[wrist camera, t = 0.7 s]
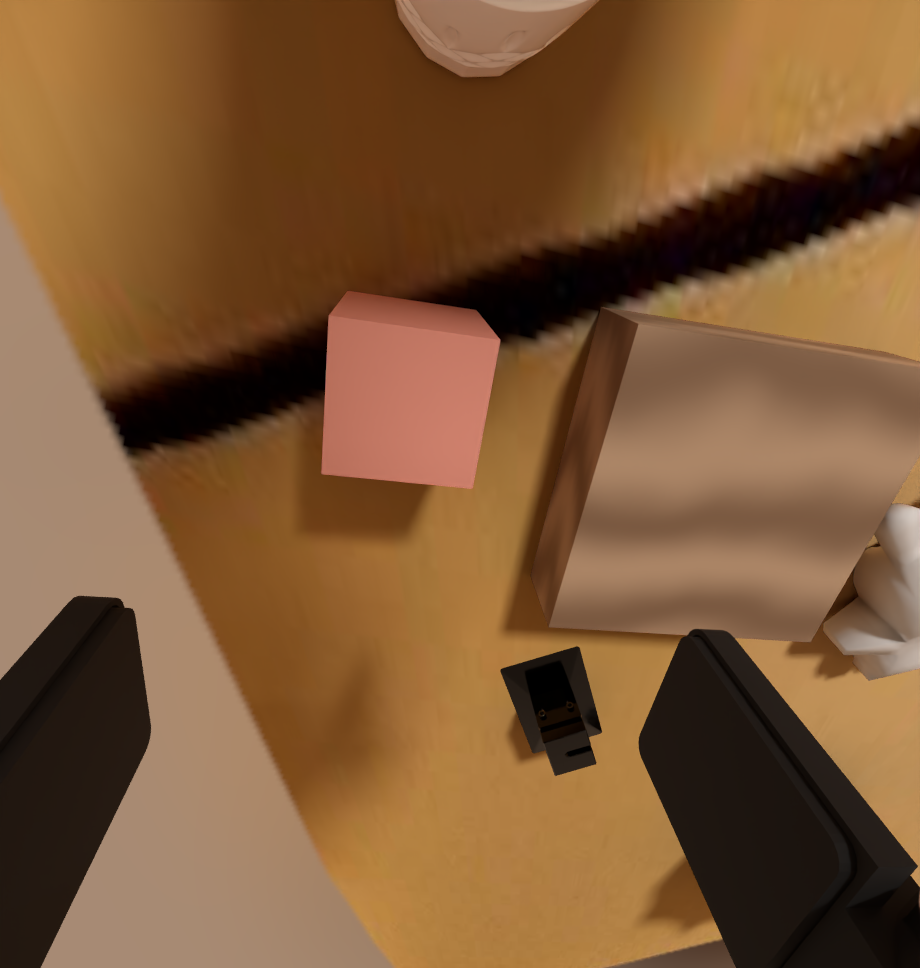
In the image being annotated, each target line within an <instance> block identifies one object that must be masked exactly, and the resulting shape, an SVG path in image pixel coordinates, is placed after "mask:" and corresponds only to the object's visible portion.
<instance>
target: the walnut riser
mask: <svg viewBox="0 0 920 968" xmlns="http://www.w3.org/2000/svg"><path fill="white" fill-rule="evenodd" d="M919 456H920V362H919V361H915V360H912V359H908V358H905V357H901V356H897V355H894V354H890V353H887V352H882V351H876V350H869V349H863V348H857V347H850V346H844V345H838V344H831V343H825V342H819V341H813V340H806V339H800V338H794V337H787V336H781V335H775V334H768V333H762V332H756V331H749V330H743V329H737V328H731V327H724V326H718V325H712V324H705V323H699V322H693V321H686V320H680V319H674V318H667V317H661V316H655V315H649V314H642V313H636V312H630V311H623V310H617V309H611V308H604V307H601V309H600V313H599V317H598V321H597V325H596V328H595V332H594V336H593V340H592V344H591V347H590V351H589V355H588V359H587V363H586V366H585V370H584V374H583V378H582V382H581V385H580V389H579V393H578V397H577V401H576V404H575V408H574V412H573V416H572V420H571V423H570V427H569V431H568V435H567V439H566V443H565V446H564V450H563V454H562V458H561V462H560V465H559V469H558V473H557V477H556V481H555V484H554V488H553V492H552V496H551V500H550V503H549V507H548V511H547V515H546V519H545V522H544V526H543V530H542V534H541V538H540V541H539V545H538V549H537V553H536V557H535V560H534V564H533V568H532V572H531V579H532V582H533V584H534V587H535V590H536V593H537V596H538V599H539V601H540V604H541V607H542V610H543V613H544V616H545V618H546V621H547V624H548V627H554V628H571V629H589V630H606V631H623V632H640V633H658V634H675V635H688V634H689V632H690V631H692V630H693V629H711V630H724V631H727V632H729V633H730V634H731V635H732V636H733V637H734V638H744V639H762V640H779V641H796V642H811V640H812V639H813V637H814V635H815V634H816V632H817V630H818V628H819V627H820V625H821V623H822V622H823V620H824V618H825V617H826V615H827V613H828V611H829V610H830V608H831V606H832V605H833V603H834V601H835V599H836V598H837V596H838V594H839V593H840V591H841V589H842V588H843V586H844V584H845V582H846V581H847V579H848V577H849V576H850V574H851V572H852V570H853V569H854V567H855V565H856V564H857V562H858V560H859V559H860V557H861V555H862V553H863V552H864V550H865V548H866V547H867V545H868V543H869V541H870V540H871V538H872V536H873V535H874V533H875V531H876V530H877V528H878V526H879V524H880V523H881V521H882V519H883V518H884V516H885V514H886V512H887V511H888V509H889V507H890V506H891V504H892V502H893V501H894V499H895V497H896V495H897V494H898V492H899V490H900V489H901V487H902V485H903V483H904V482H905V480H906V478H907V477H908V475H909V473H910V472H911V470H912V468H913V466H914V465H915V463H916V461H917V460H918V458H919Z"/></svg>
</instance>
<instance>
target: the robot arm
mask: <svg viewBox="0 0 920 968" xmlns="http://www.w3.org/2000/svg"><path fill="white" fill-rule="evenodd" d="M150 733H151V723H150V716H149V709H148V702H147V695H146V688H145V681H144V674H143V667H142V660H141V654H140V646H139V640H138V632H137V626H136V618H135V613H134V611H133V609H131V608H124V605H123V602H122V601H121V599H119V598H109V597H90V596H77V597H74V598H73V599H72V600H71V601H70V602H69V603H68V604H67V605H66V606H65V607H64V608H63V609H62V611H61V612H60V613H59V614H58V615H57V616H56V617H55V618H54V620H53V621H52V622H51V623H50V624H49V625H48V627H47V628H46V629H45V630H44V631H43V632H42V633H41V634H40V636H39V637H38V638H37V639H36V640H35V641H34V642H33V644H32V645H31V646H30V647H29V648H28V649H27V650H26V651H25V652H24V654H23V655H22V656H21V657H20V658H19V659H18V661H17V662H16V663H15V664H14V665H13V666H12V667H11V668H10V670H9V671H8V672H7V673H6V674H5V675H4V676H3V677H2V679H1V680H0V968H41V966H42V963H43V961H44V959H45V957H46V955H47V953H48V951H49V949H50V947H51V945H52V943H53V941H54V939H55V937H56V935H57V933H58V931H59V929H60V926H61V924H62V922H63V920H64V918H65V916H66V914H67V912H68V910H69V908H70V906H71V903H72V902H73V899H74V898H75V896H76V894H77V891H78V889H79V887H80V885H81V883H82V881H83V879H84V877H85V875H86V873H87V871H88V868H89V867H90V865H91V863H92V861H93V859H94V857H95V854H96V852H97V850H98V848H99V846H100V844H101V842H102V840H103V838H104V835H105V834H106V832H107V830H108V828H109V826H110V824H111V822H112V820H113V817H114V815H115V813H116V811H117V809H118V807H119V805H120V803H121V801H122V799H123V797H124V795H125V793H126V791H127V788H128V787H129V785H130V782H131V780H132V778H133V776H134V774H135V772H136V770H137V768H138V766H139V764H140V762H141V760H142V758H143V756H144V753H145V751H146V749H147V746H148V743H149V739H150ZM639 751H640V755H641V758H642V760H643V762H644V764H645V767H646V769H647V771H648V773H649V776H650V778H651V780H652V782H653V784H654V787H655V789H656V791H657V793H658V796H659V798H660V800H661V802H662V805H663V807H664V809H665V811H666V813H667V816H668V818H669V820H670V822H671V825H672V827H673V829H674V831H675V833H676V836H677V838H678V840H679V842H680V845H681V847H682V849H683V851H684V853H685V856H686V858H687V860H688V862H689V865H690V867H691V869H692V871H693V873H694V876H695V878H696V880H697V882H698V885H699V887H700V889H701V891H702V893H703V896H704V898H705V900H706V902H707V905H708V907H709V909H710V911H711V913H712V916H713V918H714V920H715V922H716V925H717V927H718V929H719V931H720V933H721V936H722V938H723V940H724V942H725V945H726V947H727V949H728V951H729V953H730V956H731V958H732V960H733V962H734V964H735V966H736V968H920V887H919V886H918V885H917V883H916V882H915V881H914V879H913V878H912V877H911V876H910V875H911V874H912V873H913V872H914V870H915V869H916V868H917V867H918V866H917V864H916V863H915V862H914V861H913V859H912V858H911V857H910V856H909V855H908V853H907V852H906V851H905V850H904V848H903V847H902V846H901V845H900V843H899V842H898V841H897V840H896V838H895V837H894V836H893V835H892V833H891V832H890V831H889V830H888V828H887V827H886V826H885V825H884V823H883V822H882V821H881V820H880V818H879V817H878V816H877V815H876V814H875V812H874V811H873V810H872V809H871V807H870V806H869V805H868V804H867V802H866V801H865V800H864V799H863V797H862V796H861V795H860V794H859V792H858V791H857V790H856V789H855V787H854V786H853V785H852V784H851V782H850V781H849V780H848V779H847V777H846V776H845V775H844V774H843V772H842V771H841V770H840V769H839V768H838V766H837V765H836V764H835V763H834V761H833V760H832V759H831V758H830V756H829V755H828V754H827V753H826V751H825V750H824V749H823V748H822V746H821V745H820V744H819V743H818V741H817V740H816V739H815V738H814V736H813V735H812V734H811V733H810V731H809V730H808V729H807V728H806V727H805V725H804V724H803V723H802V722H801V720H800V719H799V718H798V717H797V715H796V714H795V713H794V712H793V710H792V709H791V708H790V707H789V705H788V704H787V703H786V702H785V700H784V699H783V698H782V697H781V695H780V694H779V693H778V692H777V690H776V689H775V688H774V687H773V685H772V684H771V683H770V682H769V681H768V679H767V678H766V677H765V676H764V674H763V673H762V672H761V671H760V669H759V668H758V667H757V666H756V664H755V663H754V662H753V661H752V659H751V658H750V657H749V656H748V654H747V653H746V652H745V651H744V649H743V648H742V647H741V646H740V644H739V643H738V642H737V641H736V640H735V638H734V637H733V636H732V635H731V634H730V633H729V632H727V631H724V630H711V629H693V630H692V631H690V632H689V634H688V635H687V636H685V637H683V638H682V639H681V640H680V642H679V644H678V646H677V649H676V651H675V653H674V656H673V658H672V660H671V663H670V665H669V667H668V670H667V672H666V674H665V677H664V679H663V682H662V684H661V686H660V689H659V691H658V693H657V696H656V698H655V700H654V703H653V705H652V707H651V710H650V712H649V714H648V717H647V719H646V722H645V724H644V726H643V729H642V731H641V733H640V736H639Z"/></svg>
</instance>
